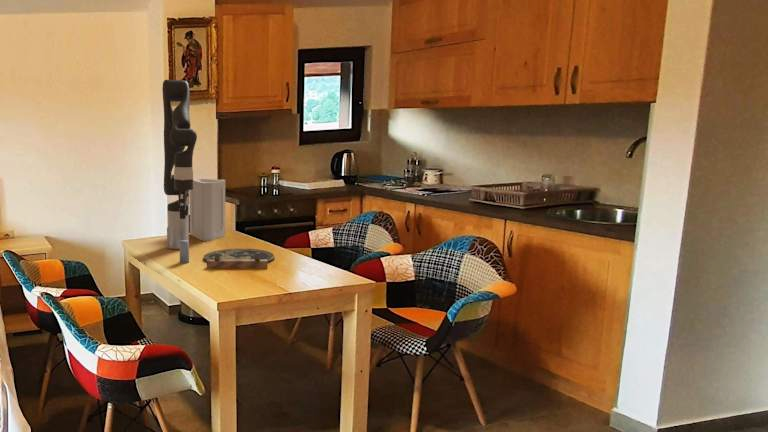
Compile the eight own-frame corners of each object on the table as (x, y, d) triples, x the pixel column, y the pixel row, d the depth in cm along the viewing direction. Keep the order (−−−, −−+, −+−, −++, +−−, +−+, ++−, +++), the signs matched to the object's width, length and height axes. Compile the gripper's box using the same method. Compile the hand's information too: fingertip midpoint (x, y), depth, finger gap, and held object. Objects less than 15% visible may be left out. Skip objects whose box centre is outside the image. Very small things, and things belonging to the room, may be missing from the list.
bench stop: (206, 268, 275) (206, 253, 274) (207, 266, 278) (207, 252, 277) (267, 268, 279) (267, 253, 278) (267, 266, 282) (267, 252, 281)
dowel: (179, 263, 282) (179, 241, 281) (180, 261, 286) (180, 240, 284) (188, 263, 283) (188, 241, 281) (189, 261, 286) (189, 240, 285)
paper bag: (231, 238, 338) (232, 182, 334) (202, 240, 330) (202, 183, 325) (217, 232, 354) (217, 178, 349) (189, 234, 345) (188, 178, 341)
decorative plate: (236, 245, 314) (288, 254, 300) (236, 249, 314) (288, 258, 300) (188, 257, 288) (242, 266, 274) (188, 261, 289) (242, 271, 274)
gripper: (176, 176, 285) (176, 214, 287) (171, 179, 271) (172, 219, 274) (194, 176, 286) (195, 214, 289) (191, 179, 272) (191, 220, 275)
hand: (183, 217), depth 281 cm, fingers open, 8 cm apart
